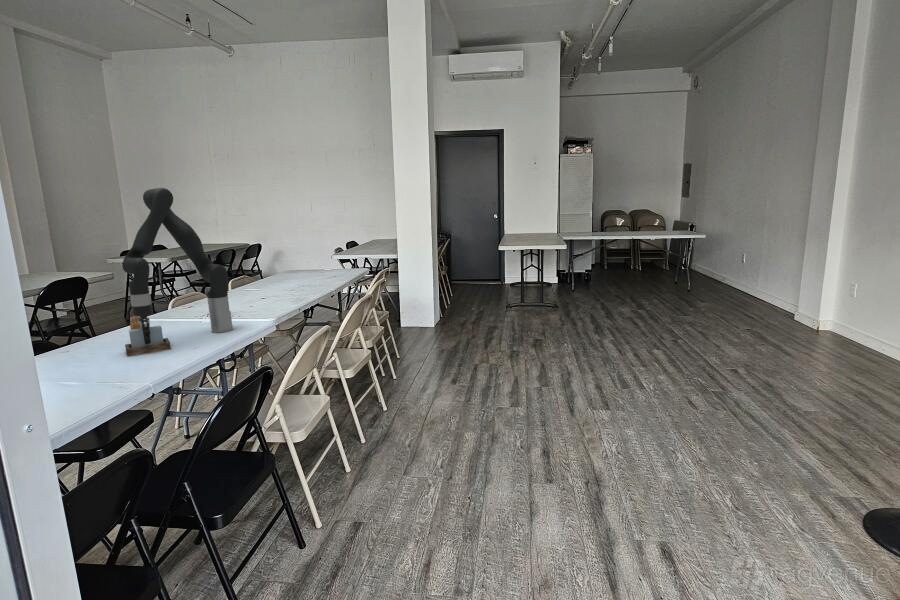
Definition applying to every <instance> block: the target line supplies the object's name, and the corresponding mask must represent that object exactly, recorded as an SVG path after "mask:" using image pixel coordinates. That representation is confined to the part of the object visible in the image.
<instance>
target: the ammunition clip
mask: <svg viewBox="0 0 900 600" xmlns="http://www.w3.org/2000/svg"><path fill="white" fill-rule="evenodd" d="M138 319H140V316H133V315H132V316H130V318H129V323H130V324H129V326H130V330H133V329H140V324H139V320H138Z"/></svg>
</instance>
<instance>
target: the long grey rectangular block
mask: <svg viewBox="0 0 900 600" xmlns="http://www.w3.org/2000/svg"><path fill="white" fill-rule="evenodd" d="M144 332H148V330H145V331H144ZM128 334H129V339H130V344H131V347H132V348H134V347H140V346H146V345H152V344H158V343H164V341H163V338H164V335H163V329H162V326H161V325H153V326H150V340H151V343H149V344H145V341H144V336H143V331H142V330H141V328H140V329H133V330H131V329H128Z"/></svg>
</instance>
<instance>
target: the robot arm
mask: <svg viewBox="0 0 900 600" xmlns="http://www.w3.org/2000/svg"><path fill="white" fill-rule="evenodd" d="M142 199H143V203H144V204H145V206H146V207H147V208H148V209H149V214H148V215H147V217H146V218H145V221H144V222H143V223H142V225H140V227H139V229H138V231H137V232H136V234H135V237H134V240H133V242H132V246H131V248H130V249H129V250H128V252H127V253H126V255H125V256H124V258H123V261H122V265H121V267H122V270H123V271H124V273H126V274H128V275H133V277H132V278H133V279H132V280H130V281H129V282H128V287H129V288H128V289H129V293H130V294H129V296H130V305H131V312H132V317H133V316H134V317H135V316H137V317H138V316H140V319H138V320H139V324H140V328H141V330H142V331H143V336H144V341H145V344H149V343H151V340H150V327H151V325H150V322H151V320H150V318H149V317H148V316H150V315H153V314H154V310H153V303H152V297H151V294H150V288H149V277H150V264H149V262H148V261H147V260H146V259H145V258H144V257H146V256H147V255H149V254H151V252H152V248H153V246H154V243H155V240H156V238H157V235H158V233H159V230H160V228H161V226H162V225H163V227H164V228H165V229H166V230H167V232H168V233H169V234H170V235H171V237H172V238H173V239H174V241H175V242H176V244H177V245H178V246H179V248H181V250H182V251H183V252H184V253H185V255H186V256H187V257H188V259H189V260H190V261H191V262H192V263H193V265H194V266H195V268H196V269H197V271H198V273H199V275H200V277H201V278H202V279H203V280H204V281H206V282H207V283H209V286H210V289H209V290H208V291H207V292H206V296H207V306H208V314H209V321H210V329H211V333H215V334H217V333H225V332H226V333H227V332H229V331H233V330H234V329H233V320H232V318H233V317H232V311H231V310H230V303H229V296H228V294H229V289H230V287H229V275H228V271H227V268H226V267H225V266H224V265H222V264H218V263H217V264H216V263H213V262H212V261H211V259H210V258H209V257H208V256H207V254H206V252H205V251H204V246H203V243H202V240H201V238H200V237H199V235H198V234H197V232H196V231H195V230H194V229H193V228H192V226H191V225H190V224H188V223H187V222H186V221H184V220H183V219H182V218H180V217H179V216H178V215H177V214H175V212H173V210H172V209H171V207H172V205H173V203H174V195H173V193H172V192H171V191H170V190H169V189H168V188H164V187H157V188H151V189H147V190H145V191H144V193H143V195H142ZM145 330H148V332H144V331H145Z"/></svg>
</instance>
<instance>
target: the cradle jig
mask: <svg viewBox="0 0 900 600" xmlns="http://www.w3.org/2000/svg"><path fill="white" fill-rule="evenodd" d="M163 341H164V343H158V344H152V345H146V346H140V347H134V348H132V347H131V343H126V344H124V347H125V352H126V356H127V357H133V356H138V355H139V356H140V355H145V354H151V353H156V352H163V351H168V350H172V346H171V345H172V344H171V341H170V340H169V338H168V337H163Z"/></svg>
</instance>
